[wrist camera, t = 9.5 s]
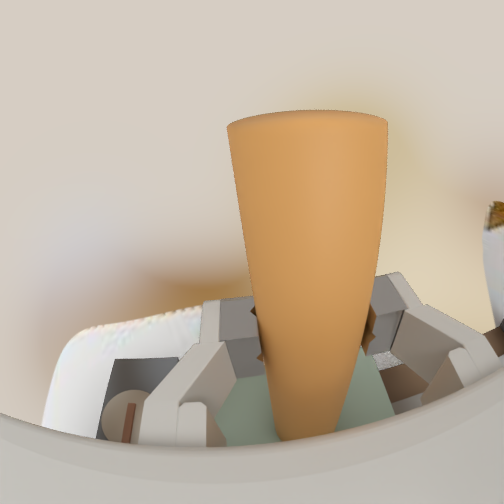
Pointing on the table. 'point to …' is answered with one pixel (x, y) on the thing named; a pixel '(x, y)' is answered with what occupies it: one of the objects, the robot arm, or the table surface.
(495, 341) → the rail
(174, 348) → the table surface
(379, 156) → the slider with orange handle
